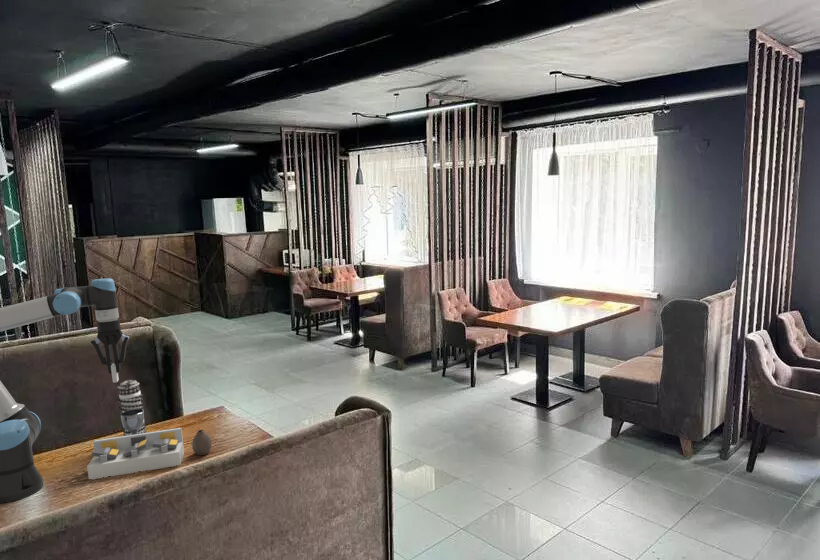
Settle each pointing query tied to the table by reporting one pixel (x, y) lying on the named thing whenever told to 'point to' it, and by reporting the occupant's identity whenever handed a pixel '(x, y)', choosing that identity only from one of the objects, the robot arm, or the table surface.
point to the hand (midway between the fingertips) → (115, 381)
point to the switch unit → (136, 454)
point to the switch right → (165, 443)
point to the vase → (201, 443)
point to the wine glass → (132, 420)
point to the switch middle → (136, 447)
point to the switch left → (105, 452)
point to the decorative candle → (130, 400)
